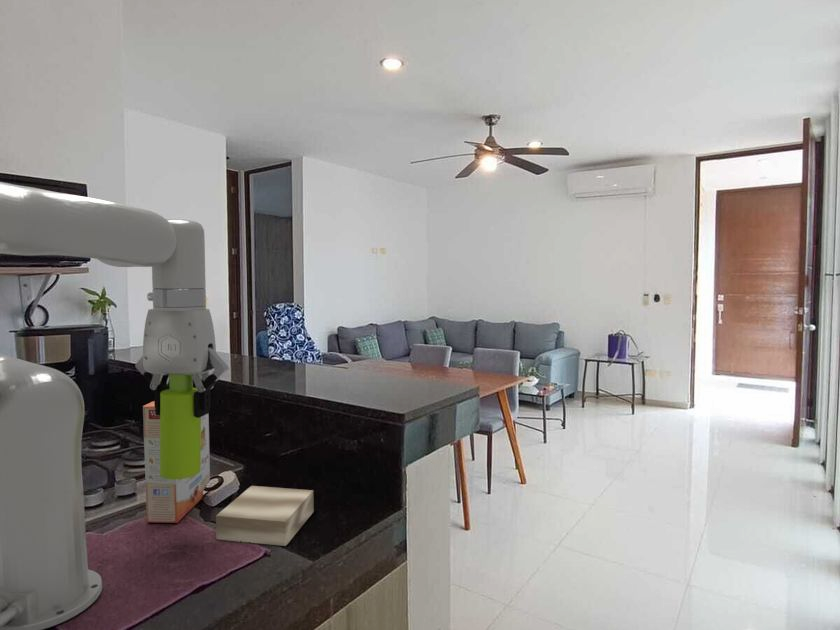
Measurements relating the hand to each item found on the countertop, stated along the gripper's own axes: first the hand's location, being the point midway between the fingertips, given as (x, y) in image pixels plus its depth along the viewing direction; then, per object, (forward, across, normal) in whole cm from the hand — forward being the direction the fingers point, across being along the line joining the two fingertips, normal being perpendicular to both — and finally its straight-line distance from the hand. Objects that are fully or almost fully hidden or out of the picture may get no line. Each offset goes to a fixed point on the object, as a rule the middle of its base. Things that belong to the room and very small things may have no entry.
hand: (182, 413), depth 84 cm
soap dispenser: (+10, 0, 0) cm, 10 cm away
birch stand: (+21, +10, +8) cm, 25 cm away
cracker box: (+21, -9, +12) cm, 26 cm away
